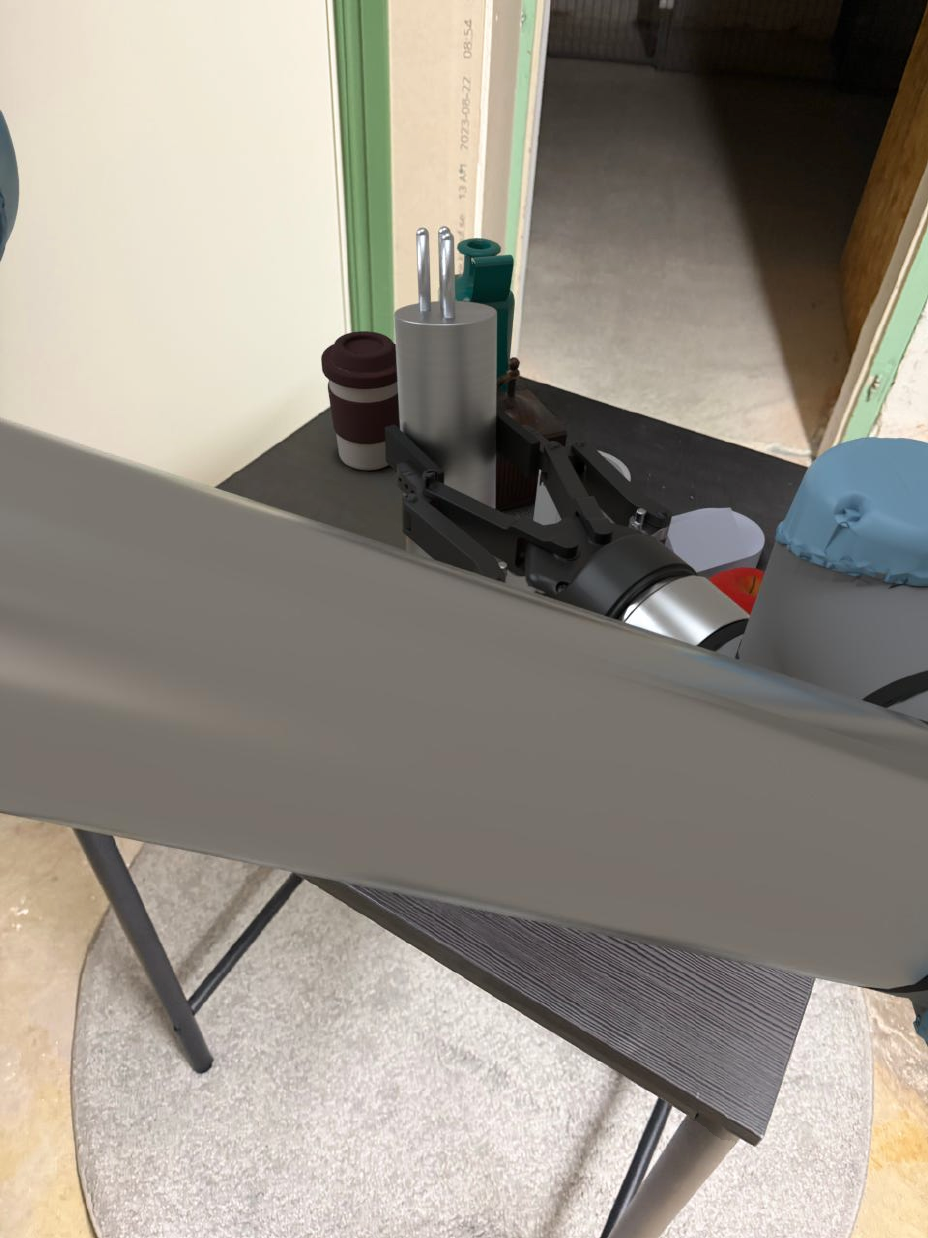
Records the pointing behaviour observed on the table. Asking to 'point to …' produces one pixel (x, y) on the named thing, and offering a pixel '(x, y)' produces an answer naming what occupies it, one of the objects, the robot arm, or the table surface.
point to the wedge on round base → (715, 540)
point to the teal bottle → (489, 290)
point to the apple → (740, 585)
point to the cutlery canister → (448, 378)
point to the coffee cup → (362, 396)
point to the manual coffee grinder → (524, 410)
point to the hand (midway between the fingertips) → (437, 429)
